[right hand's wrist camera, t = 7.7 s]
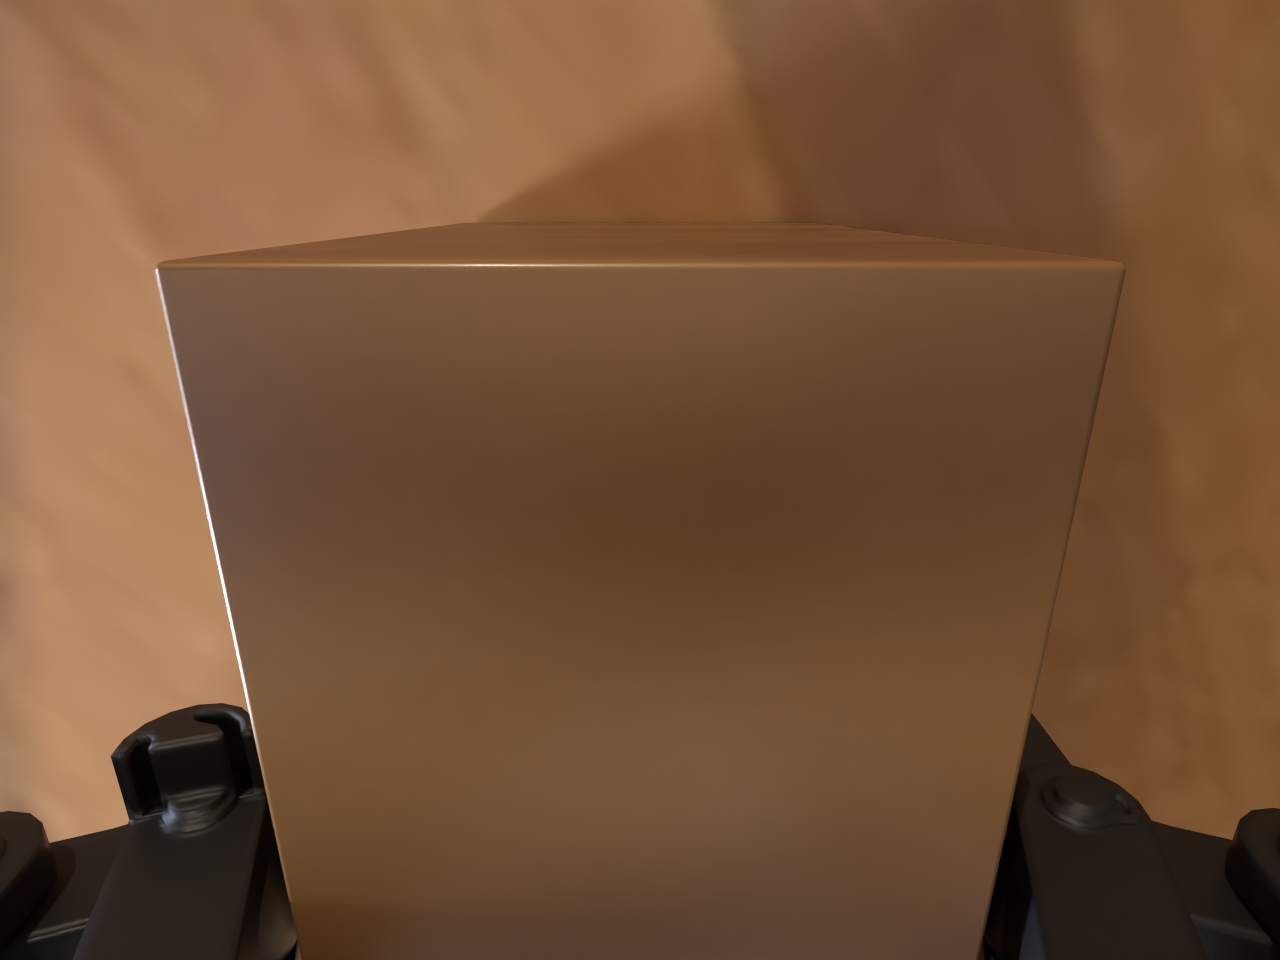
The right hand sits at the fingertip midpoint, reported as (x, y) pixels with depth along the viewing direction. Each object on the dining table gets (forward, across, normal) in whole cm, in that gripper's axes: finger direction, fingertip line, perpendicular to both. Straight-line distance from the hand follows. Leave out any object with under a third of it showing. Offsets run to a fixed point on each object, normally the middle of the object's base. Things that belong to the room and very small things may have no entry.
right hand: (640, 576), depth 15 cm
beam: (0, 0, -34) cm, 34 cm away
